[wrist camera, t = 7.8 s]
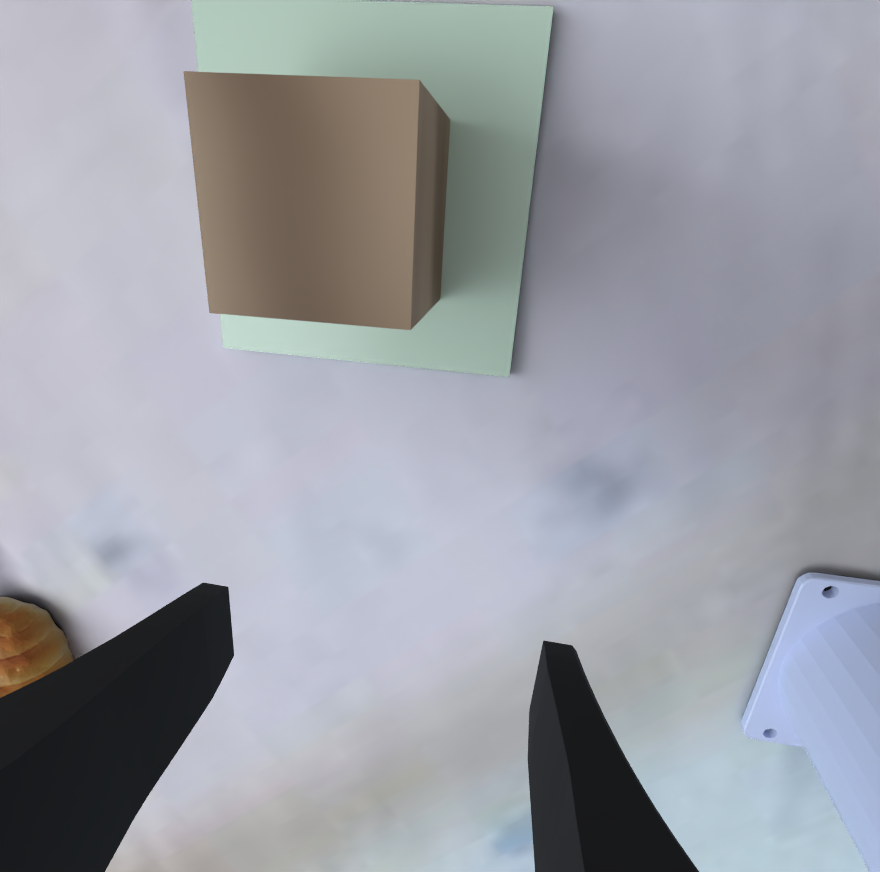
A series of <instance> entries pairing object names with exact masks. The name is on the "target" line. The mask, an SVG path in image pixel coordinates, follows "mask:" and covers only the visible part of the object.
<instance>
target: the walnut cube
mask: <svg viewBox="0 0 880 872" xmlns="http://www.w3.org/2000/svg"><path fill="white" fill-rule="evenodd" d="M184 79H185V89H186V98H187V107H188V117H189V126H190V135H191V145H192V154H193V163H194V173H195V182H196V191H197V201H198V210H199V219H200V229H201V238H202V247H203V257H204V266H205V275H206V285H207V294H208V303H209V313H216V314H228V315H239V316H251V317H263V318H274V319H286V320H297V321H309V322H321V323H332V324H344V325H355V326H367V327H379V328H390V329H402V330H411V329H412V328H413V327H414V326H415V325H416V324H417V323H418V322H419V321H420V320H421V319H422V318H423V317H424V316H425V315H426V314H427V313H428V312H429V311H430V310H431V309H432V307H433V306H434V305H435V304H436V303H437V302H438V301H439V300H440V297H441V279H442V261H443V243H444V225H445V207H446V189H447V171H448V153H449V135H450V118H449V117H448V116H447V115H446V113H445V112H444V111H443V109H442V108H441V107H440V106H439V104H438V103H437V102H436V100H435V99H434V98H433V96H432V95H431V94H430V93H429V91H428V90H427V89H426V87H425V86H424V85H423V84H422V82H421V81H420V80H414V79H386V78H358V77H329V76H301V75H273V74H245V73H217V72H188V71H184Z"/></svg>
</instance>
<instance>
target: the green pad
mask: <svg viewBox="0 0 880 872" xmlns="http://www.w3.org/2000/svg"><path fill="white" fill-rule="evenodd" d="M191 1H192V12H193V23H194V34H195V45H196V56H197V67H198V72H217V73H245V74H273V75H301V76H329V77H358V78H386V79H414V80H420V81H421V82H422V84H423V85H424V86H425V87H426V89H427V90H428V91H429V93H430V94H431V95H432V96H433V98H434V99H435V100H436V102H437V103H438V104H439V106H440V107H441V108H442V109H443V111H444V112H445V113H446V115H447V116H448V117H449V118H450V135H449V153H448V171H447V189H446V207H445V225H444V243H443V261H442V279H441V297H440V300H439V301H438V302H437V303H436V304H435V305H434V306H433V307H432V309H431V310H430V311H429V312H428V313H427V314H426V315H425V316H424V317H423V318H422V319H421V320H420V321H419V322H418V323H417V324H416V325H415V326H414V327H413V328H412V329H411V330H402V329H390V328H379V327H367V326H355V325H344V324H332V323H321V322H309V321H297V320H286V319H274V318H263V317H251V316H239V315H228V314H220V319H221V330H222V341H223V348H228V349H238V350H248V351H257V352H267V353H277V354H287V355H296V356H306V357H316V358H325V359H335V360H345V361H355V362H364V363H374V364H384V365H394V366H403V367H413V368H423V369H433V370H442V371H452V372H462V373H471V374H481V375H491V376H501V377H509V375H510V367H511V359H512V350H513V342H514V334H515V325H516V317H517V308H518V300H519V292H520V283H521V275H522V267H523V258H524V250H525V241H526V233H527V225H528V216H529V208H530V200H531V191H532V183H533V175H534V166H535V158H536V149H537V141H538V133H539V124H540V116H541V108H542V99H543V91H544V82H545V74H546V66H547V57H548V49H549V41H550V32H551V24H552V15H553V7H552V6H520V5H488V4H456V3H424V2H392V1H360V0H191Z"/></svg>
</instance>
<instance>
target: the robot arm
mask: <svg viewBox="0 0 880 872" xmlns="http://www.w3.org/2000/svg"><path fill="white" fill-rule="evenodd" d="M828 586H832V588H831V589H830V590H827V591H823V590H824V588H826V587H828ZM233 656H234V649H233V637H232V626H231V614H230V602H229V590H228V587H225V586H220V585H214V584H208V583H202V584H200V585H199V586H197V587H195V588H193V589H192V590H190V591H189V592H187V593H185V594H184V595H182V596H180V597H179V598H177V599H176V600H174V601H172V602H171V603H169V604H168V605H166V606H165V607H163V608H161V609H160V610H158V611H157V612H155V613H153V614H152V615H150V616H149V617H147V618H145V619H144V620H142V621H140V622H139V623H137V624H136V625H134V626H132V627H131V628H129V629H127V630H126V631H124V632H122V633H121V634H119V635H118V636H116V637H114V638H113V639H111V640H109V641H107V642H106V643H104V644H102V645H100V646H99V647H97V648H95V649H93V650H91V651H90V652H88V653H86V654H84V655H83V656H81V657H79V658H77V659H76V660H74V661H72V662H70V663H68V664H67V665H65V666H63V667H61V668H59V669H58V670H56V671H54V672H52V673H50V674H48V675H46V676H44V677H42V678H40V679H38V680H36V681H34V682H32V683H30V684H28V685H26V686H24V687H22V688H20V689H18V690H16V691H14V692H12V693H9V694H7V695H5V696H3V697H1V698H0V872H105V870H106V868H107V867H108V865H109V863H110V861H111V859H112V858H113V856H114V854H115V852H116V850H117V848H118V847H119V845H120V843H121V841H122V839H123V837H124V836H125V834H126V832H127V830H128V828H129V827H130V825H131V823H132V821H133V819H134V818H135V816H136V814H137V813H138V811H139V809H140V808H141V806H142V805H143V803H144V801H145V800H146V798H147V796H148V795H149V793H150V792H151V790H152V789H153V787H154V786H155V784H156V783H157V781H158V780H159V778H160V777H161V775H162V774H163V772H164V771H165V769H166V768H167V766H168V765H169V763H170V762H171V760H172V759H173V757H174V756H175V754H176V753H177V751H178V750H179V748H180V747H181V745H182V744H183V742H184V741H185V739H186V738H187V736H188V735H189V733H190V732H191V730H192V729H193V727H194V726H195V724H196V723H197V721H198V720H199V718H200V717H201V715H202V714H203V712H204V711H205V709H206V707H207V706H208V704H209V703H210V701H211V700H212V698H213V696H214V694H215V692H216V690H217V688H218V687H219V685H220V683H221V681H222V679H223V677H224V675H225V673H226V671H227V669H228V667H229V665H230V662H231V660H232V658H233ZM741 727H742V730H743V732H744V734H745V735H746V736H747V737H749V738H752V739H756V740H762V741H768V742H774V743H780V744H786V745H793V746H799V747H804V749H805V751H806V753H807V755H808V756H809V758H810V760H811V762H812V764H813V766H814V768H815V770H816V772H817V774H818V776H819V777H820V779H821V781H822V783H823V785H824V787H825V789H826V791H827V793H828V795H829V796H830V798H831V800H832V802H833V804H834V806H835V808H836V810H837V812H838V814H839V815H840V817H841V819H842V821H843V823H844V825H845V827H846V829H847V831H848V833H849V834H850V836H851V838H852V840H853V842H854V844H855V846H856V848H857V850H858V852H859V854H860V855H861V857H862V859H863V861H864V863H865V865H866V867H867V869H868V871H869V872H880V581H875V580H868V579H860V578H853V577H845V576H837V575H830V574H822V573H807V574H803V575H802V576H800V577H799V578H798V579H797V581H796V583H795V585H794V588H793V590H792V593H791V595H790V598H789V600H788V603H787V606H786V608H785V611H784V613H783V616H782V618H781V621H780V623H779V626H778V629H777V631H776V634H775V636H774V639H773V641H772V644H771V646H770V649H769V651H768V654H767V657H766V659H765V662H764V664H763V667H762V669H761V672H760V674H759V677H758V680H757V682H756V685H755V687H754V690H753V692H752V695H751V697H750V700H749V703H748V705H747V708H746V710H745V713H744V715H743V718H742V720H741ZM528 769H529V785H530V801H531V815H532V830H533V845H534V860H535V872H699V871H698V870H697V868H696V867H695V865H694V864H693V863H692V861H691V860H690V858H689V857H688V855H687V854H686V853H685V851H684V850H683V848H682V847H681V845H680V844H679V843H678V841H677V840H676V838H675V837H674V835H673V834H672V832H671V831H670V829H669V828H668V826H667V825H666V823H665V822H664V820H663V819H662V817H661V816H660V814H659V813H658V811H657V809H656V808H655V806H654V805H653V803H652V801H651V800H650V798H649V797H648V795H647V793H646V792H645V790H644V788H643V787H642V785H641V783H640V782H639V780H638V778H637V776H636V775H635V773H634V771H633V769H632V768H631V766H630V764H629V762H628V761H627V759H626V757H625V755H624V753H623V752H622V750H621V748H620V746H619V744H618V742H617V740H616V738H615V736H614V734H613V732H612V731H611V729H610V727H609V725H608V723H607V721H606V719H605V717H604V715H603V713H602V711H601V708H600V706H599V704H598V702H597V700H596V698H595V696H594V693H593V691H592V689H591V687H590V684H589V682H588V680H587V677H586V675H585V673H584V670H583V668H582V665H581V662H580V660H579V657H578V654H577V652H576V650H575V649H574V647H573V646H572V645H566V644H560V643H554V642H548V641H543V645H542V650H541V655H540V660H539V665H538V670H537V675H536V680H535V685H534V690H533V695H532V700H531V705H530V711H529V738H528Z"/></svg>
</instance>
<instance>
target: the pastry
mask: <svg viewBox="0 0 880 872" xmlns="http://www.w3.org/2000/svg"><path fill="white" fill-rule="evenodd" d="M72 661H74V659H73V656H72V652H71V649H70V646H69V643H68V641H67V638H66V636H65V635H64V633H63V631H62V630H61V629H59V628H58V627H57V626H56V625H55V623H54V622H53V620H52V618H51V616H50V614H49V613H48V612H47V611H46V610H44V609H41V608H39V607H38V606H36V605H34V604H29V603H24V602H21V601H18V600H15V599H12V598H9V597H0V698H1V697H3V696H5V695H7V694H9V693H12V692H14V691H16V690H18V689H20V688H22V687H24V686H26V685H28V684H30V683H32V682H34V681H36V680H38V679H40V678H42V677H44V676H46V675H48V674H50V673H52V672H54V671H56V670H58V669H59V668H61V667H63V666H65V665H67V664H68V663H70V662H72Z"/></svg>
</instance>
